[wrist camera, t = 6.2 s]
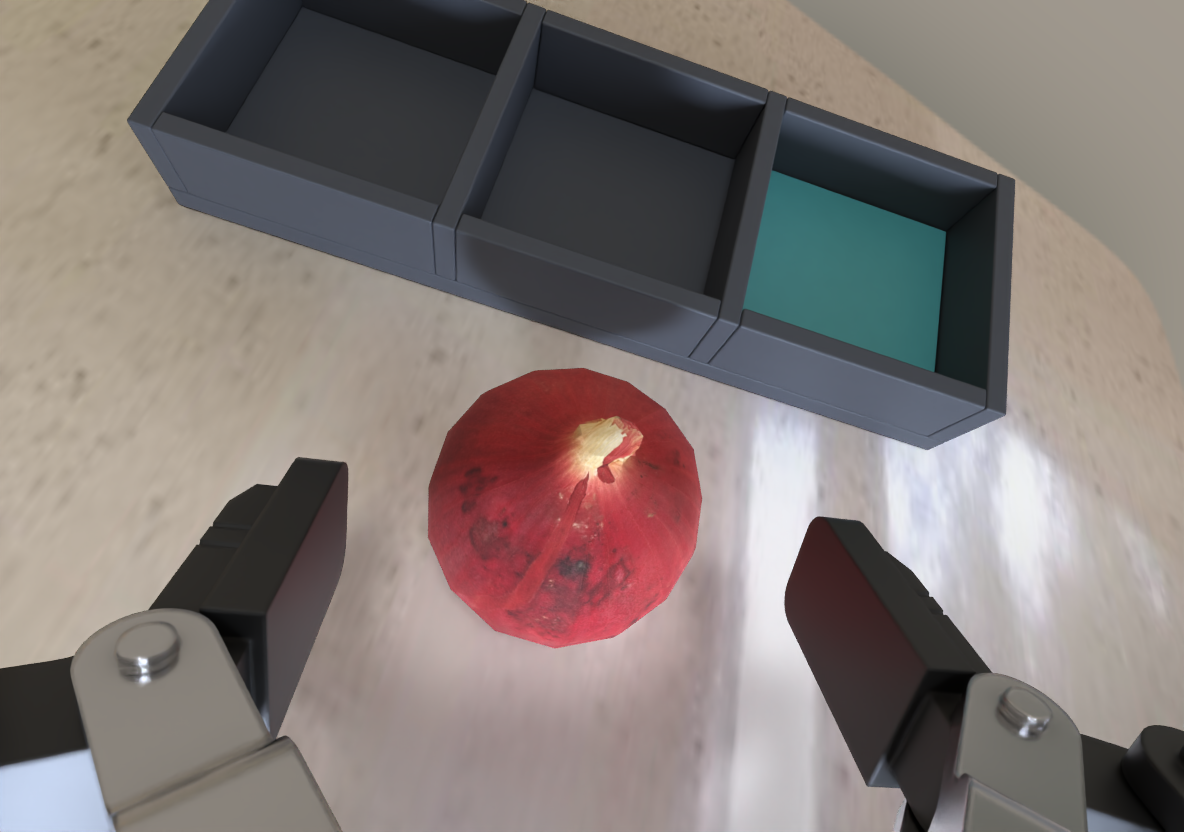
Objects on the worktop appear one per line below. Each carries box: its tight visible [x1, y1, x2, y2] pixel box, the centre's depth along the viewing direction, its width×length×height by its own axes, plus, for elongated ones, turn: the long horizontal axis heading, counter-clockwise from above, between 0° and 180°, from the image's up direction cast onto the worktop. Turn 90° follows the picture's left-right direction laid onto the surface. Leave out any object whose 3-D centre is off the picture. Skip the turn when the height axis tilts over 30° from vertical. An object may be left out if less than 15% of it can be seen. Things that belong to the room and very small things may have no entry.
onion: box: [428, 368, 702, 648], centre depth 14 cm, size 6×6×8 cm
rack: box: [127, 0, 1015, 450], centre depth 20 cm, size 23×8×3 cm, turn 75°
